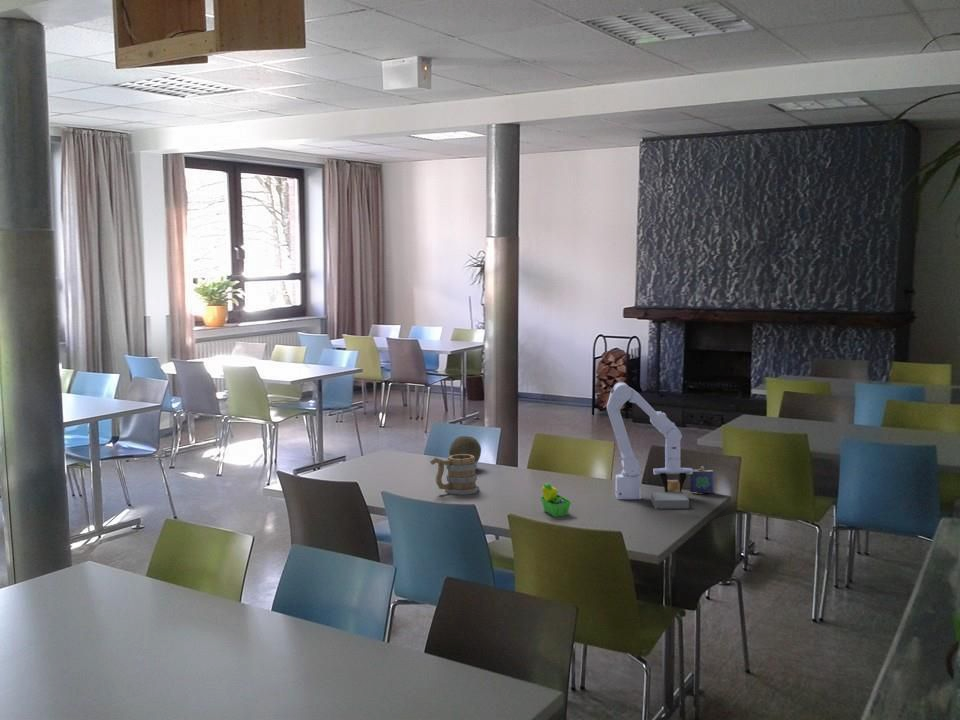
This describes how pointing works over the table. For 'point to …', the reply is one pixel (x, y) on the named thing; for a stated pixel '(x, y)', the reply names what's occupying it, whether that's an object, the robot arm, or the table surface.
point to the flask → (702, 481)
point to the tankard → (457, 474)
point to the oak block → (673, 486)
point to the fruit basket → (554, 501)
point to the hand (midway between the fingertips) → (672, 492)
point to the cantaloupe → (466, 447)
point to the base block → (669, 500)
